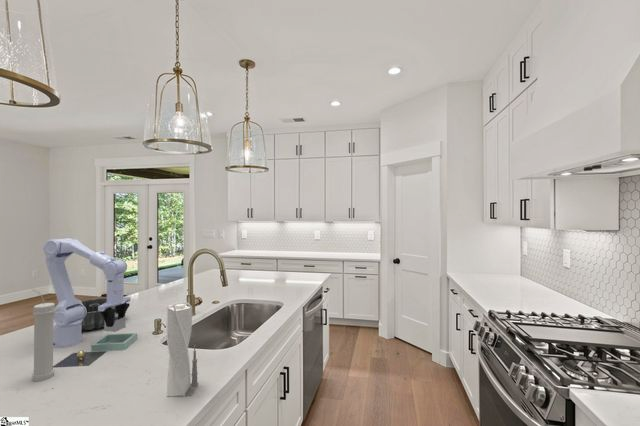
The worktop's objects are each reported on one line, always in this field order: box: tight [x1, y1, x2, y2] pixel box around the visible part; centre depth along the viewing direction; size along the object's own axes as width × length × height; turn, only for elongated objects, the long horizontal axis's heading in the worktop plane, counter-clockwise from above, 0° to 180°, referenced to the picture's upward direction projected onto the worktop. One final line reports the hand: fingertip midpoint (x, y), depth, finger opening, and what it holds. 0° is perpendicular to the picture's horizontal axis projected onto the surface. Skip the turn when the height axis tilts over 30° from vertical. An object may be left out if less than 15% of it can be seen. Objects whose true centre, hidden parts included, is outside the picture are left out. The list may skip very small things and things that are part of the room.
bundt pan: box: [66, 297, 116, 331], centre depth 155 cm, size 26×26×10 cm
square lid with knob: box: [53, 350, 108, 369], centre depth 115 cm, size 12×12×4 cm
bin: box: [90, 332, 138, 352], centre depth 128 cm, size 12×11×4 cm
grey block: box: [103, 313, 126, 333], centre depth 128 cm, size 5×5×6 cm
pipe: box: [31, 288, 56, 382], centre depth 102 cm, size 6×6×30 cm
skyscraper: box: [165, 301, 199, 398], centre depth 96 cm, size 8×8×28 cm
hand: (114, 324), depth 128 cm, fingers closed on grey block, 5 cm apart
